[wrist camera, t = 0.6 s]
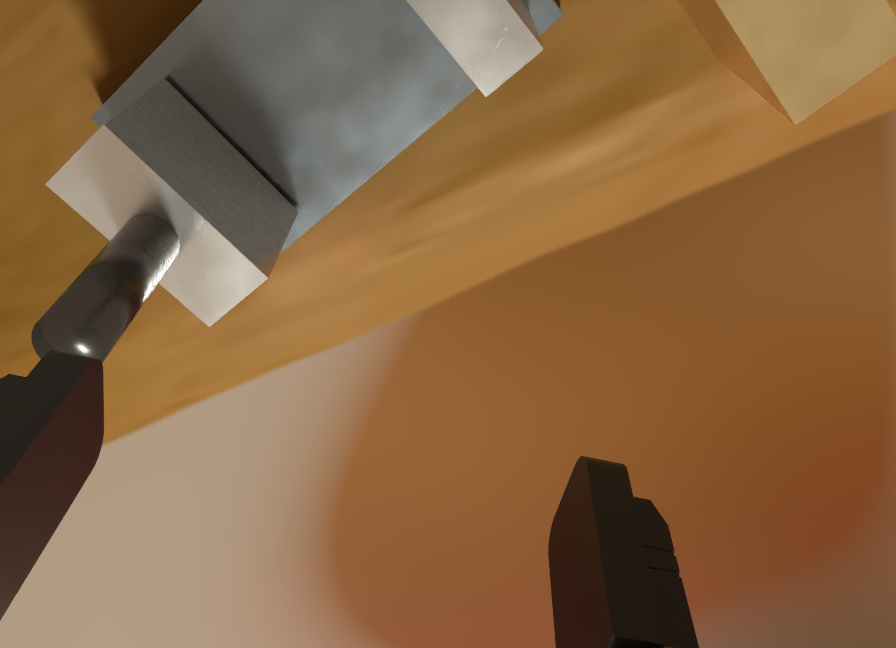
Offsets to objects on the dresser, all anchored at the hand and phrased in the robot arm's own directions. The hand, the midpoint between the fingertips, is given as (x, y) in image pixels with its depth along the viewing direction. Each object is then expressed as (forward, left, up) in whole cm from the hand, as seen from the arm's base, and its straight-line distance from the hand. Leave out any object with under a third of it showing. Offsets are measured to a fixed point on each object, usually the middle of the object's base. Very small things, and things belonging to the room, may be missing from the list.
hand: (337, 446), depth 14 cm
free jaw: (+10, -3, -24) cm, 26 cm away
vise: (+3, -3, -26) cm, 26 cm away
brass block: (-12, +5, -26) cm, 29 cm away
